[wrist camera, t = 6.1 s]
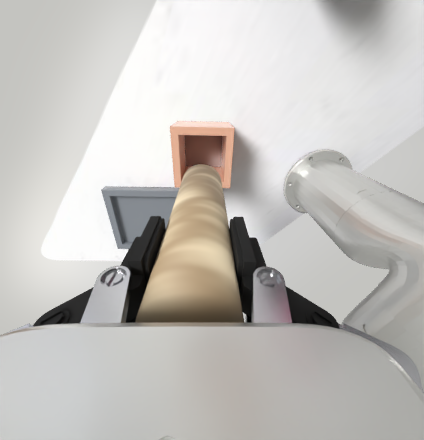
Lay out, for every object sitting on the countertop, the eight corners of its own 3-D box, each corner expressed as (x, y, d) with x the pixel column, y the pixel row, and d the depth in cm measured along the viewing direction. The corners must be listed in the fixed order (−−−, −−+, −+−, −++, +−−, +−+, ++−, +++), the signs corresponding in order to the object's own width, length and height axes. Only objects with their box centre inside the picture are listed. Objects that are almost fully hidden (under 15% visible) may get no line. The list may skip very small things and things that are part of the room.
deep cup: (228, 122, 33) (234, 128, 26) (225, 172, 37) (229, 188, 30) (177, 121, 33) (169, 126, 26) (180, 171, 37) (174, 187, 30)
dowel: (222, 164, 19) (250, 292, 6) (220, 201, 21) (239, 355, 8) (181, 163, 19) (125, 292, 6) (183, 201, 21) (144, 355, 8)
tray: (208, 188, 39) (208, 191, 37) (207, 244, 46) (207, 249, 45) (105, 186, 38) (101, 190, 37) (121, 243, 46) (118, 248, 44)
